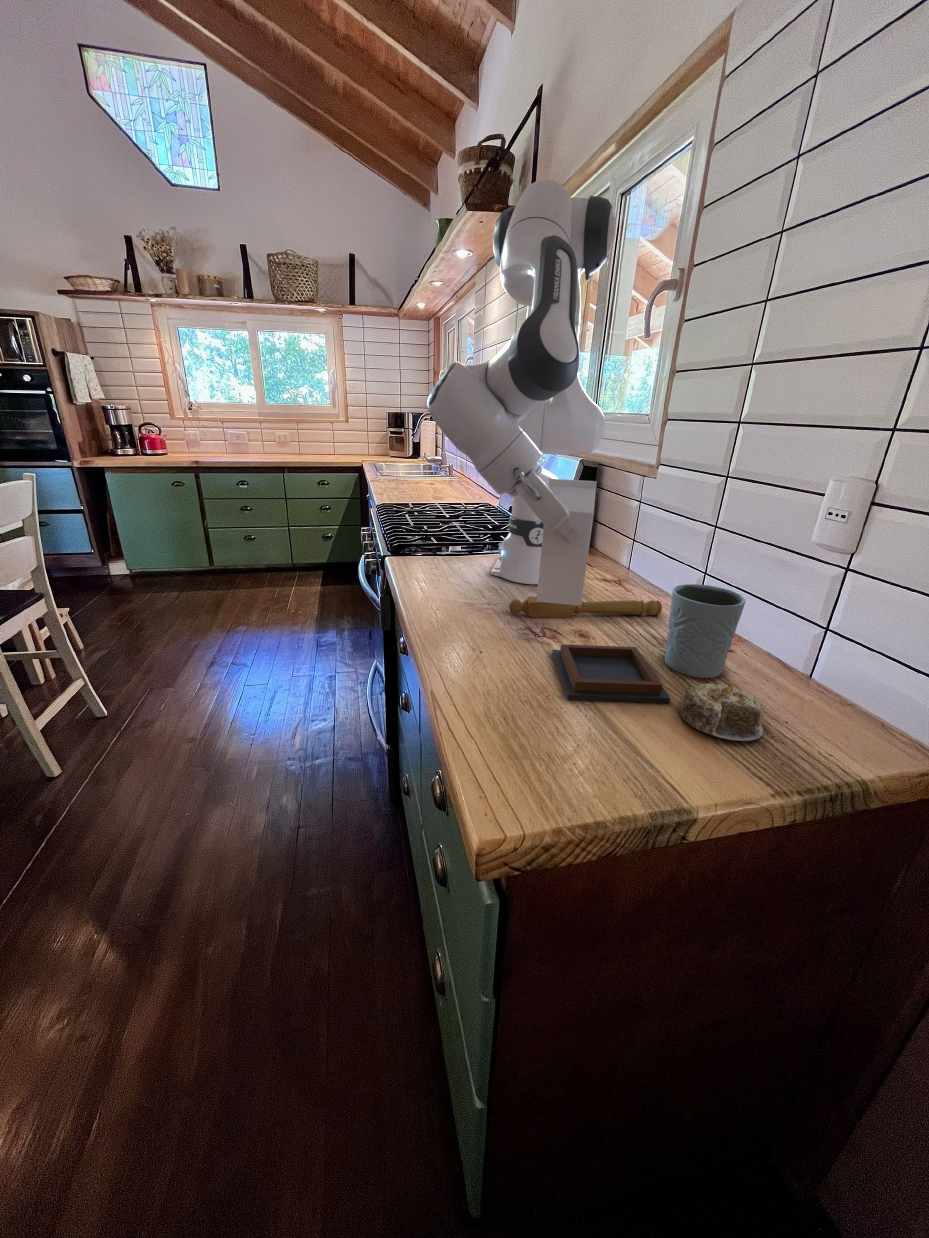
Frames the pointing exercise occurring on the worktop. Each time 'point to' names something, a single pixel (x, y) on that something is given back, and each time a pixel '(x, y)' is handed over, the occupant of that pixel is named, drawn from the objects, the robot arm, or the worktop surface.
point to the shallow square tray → (607, 674)
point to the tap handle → (584, 608)
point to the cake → (723, 712)
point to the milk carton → (567, 545)
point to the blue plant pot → (701, 629)
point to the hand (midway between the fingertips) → (570, 532)
